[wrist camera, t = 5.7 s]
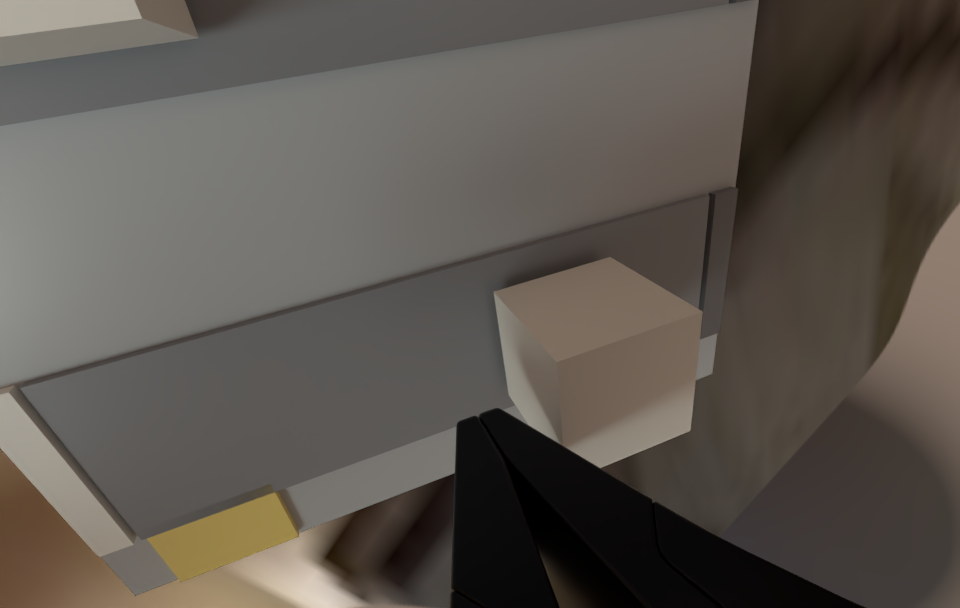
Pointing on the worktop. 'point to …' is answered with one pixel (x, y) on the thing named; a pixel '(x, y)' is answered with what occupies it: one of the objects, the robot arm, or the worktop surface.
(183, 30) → the toggle
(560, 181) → the breaker panel
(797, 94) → the worktop surface
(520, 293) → the toggle
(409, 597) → the worktop surface
